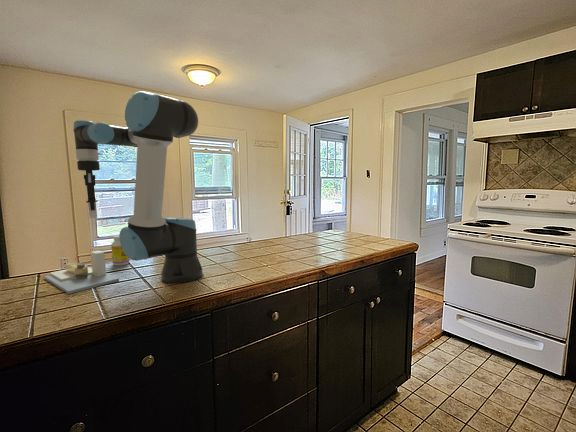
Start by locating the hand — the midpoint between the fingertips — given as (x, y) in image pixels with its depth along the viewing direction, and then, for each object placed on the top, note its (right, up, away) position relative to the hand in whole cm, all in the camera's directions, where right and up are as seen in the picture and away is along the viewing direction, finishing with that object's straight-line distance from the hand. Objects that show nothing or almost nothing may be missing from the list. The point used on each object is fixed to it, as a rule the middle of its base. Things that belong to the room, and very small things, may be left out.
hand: (93, 217), depth 125 cm
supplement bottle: (+6, -21, +10) cm, 24 cm away
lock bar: (-1, -21, -9) cm, 23 cm away
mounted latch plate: (+2, -23, -11) cm, 26 cm away
